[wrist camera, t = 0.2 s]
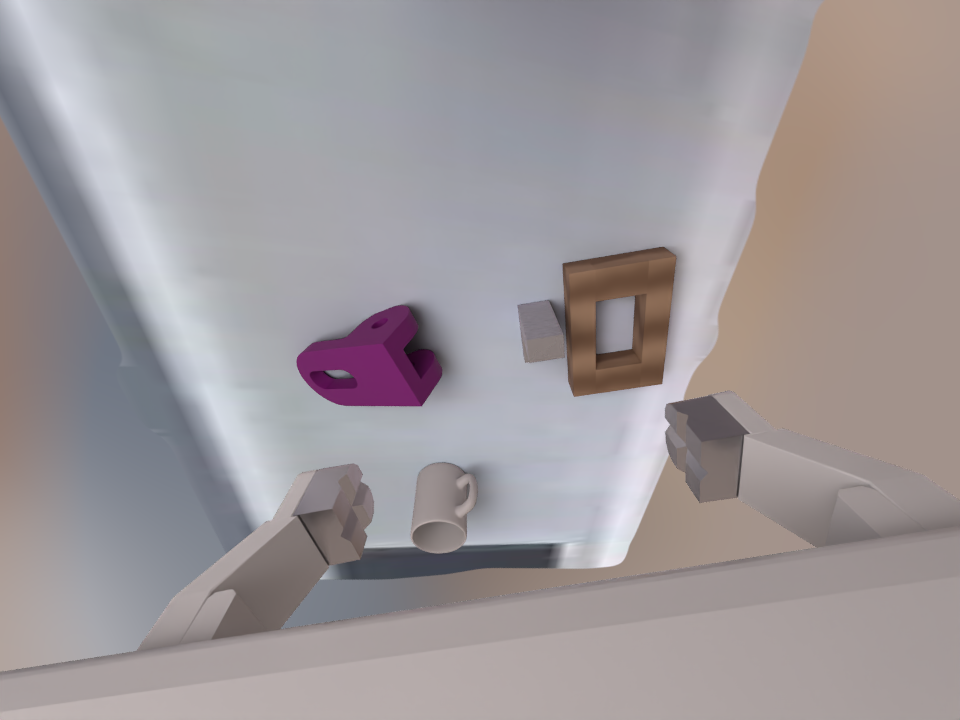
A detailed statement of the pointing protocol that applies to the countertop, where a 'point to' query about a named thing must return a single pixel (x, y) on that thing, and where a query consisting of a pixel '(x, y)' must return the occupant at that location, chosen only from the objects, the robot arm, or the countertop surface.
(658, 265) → the well block
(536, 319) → the angle bracket
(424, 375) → the mounting bracket
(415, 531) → the mug
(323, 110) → the countertop surface
